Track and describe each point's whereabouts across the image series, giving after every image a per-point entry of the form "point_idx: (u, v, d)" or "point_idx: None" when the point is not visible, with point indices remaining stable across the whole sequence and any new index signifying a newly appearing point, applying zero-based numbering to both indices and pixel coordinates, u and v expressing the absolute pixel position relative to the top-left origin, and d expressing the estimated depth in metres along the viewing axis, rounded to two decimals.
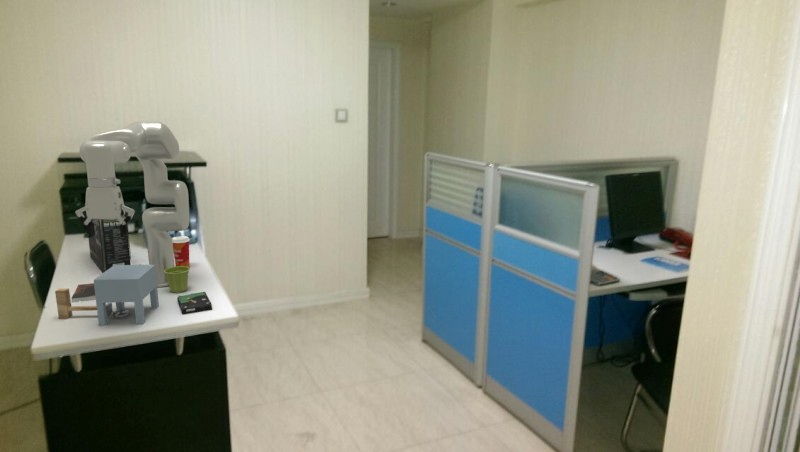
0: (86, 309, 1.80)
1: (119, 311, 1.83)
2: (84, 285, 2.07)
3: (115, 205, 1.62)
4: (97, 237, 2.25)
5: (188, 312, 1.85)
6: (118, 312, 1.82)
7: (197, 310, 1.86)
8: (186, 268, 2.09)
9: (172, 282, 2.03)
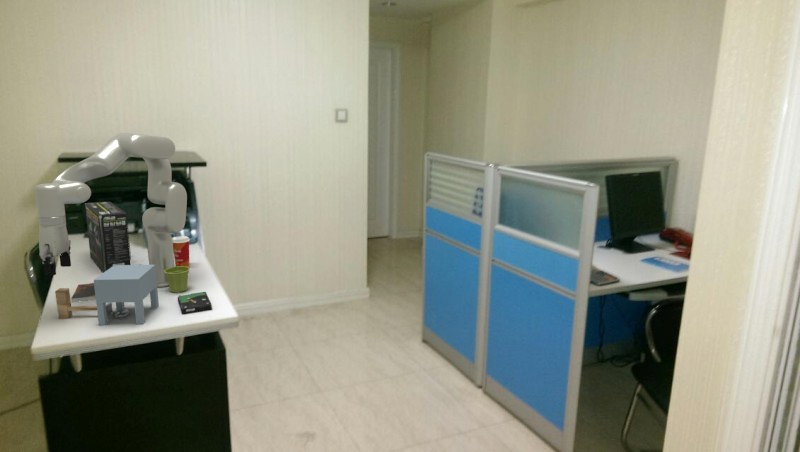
0: (86, 309, 1.80)
1: (119, 311, 1.83)
2: (84, 285, 2.07)
3: None
4: (97, 237, 2.25)
5: (188, 312, 1.85)
6: (118, 312, 1.82)
7: (197, 310, 1.86)
8: (186, 268, 2.09)
9: (172, 282, 2.03)
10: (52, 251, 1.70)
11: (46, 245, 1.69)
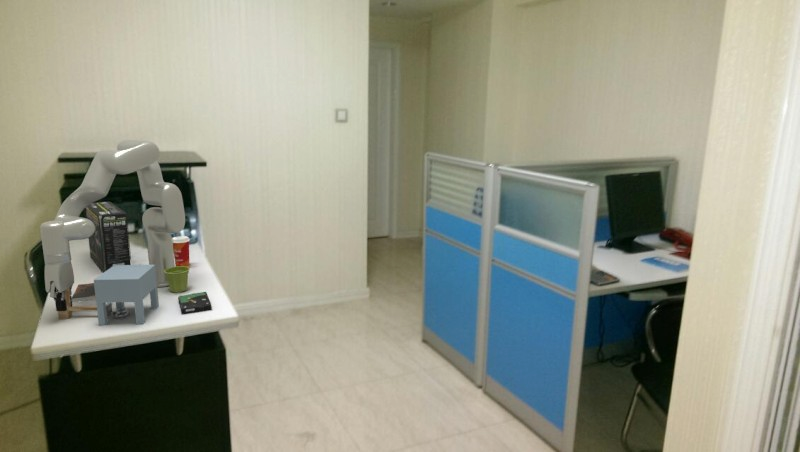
0: (86, 309, 1.80)
1: (118, 311, 1.82)
2: (84, 285, 2.07)
3: None
4: (97, 237, 2.25)
5: (187, 312, 1.85)
6: (118, 312, 1.82)
7: (196, 310, 1.86)
8: (186, 268, 2.09)
9: (172, 282, 2.03)
10: (58, 288, 1.73)
11: (53, 284, 1.73)
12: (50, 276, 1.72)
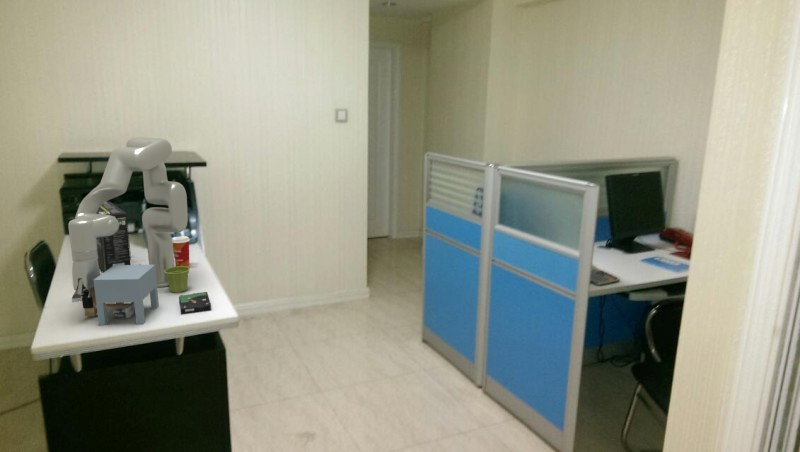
0: (112, 306, 1.80)
1: (116, 312, 1.81)
2: None
3: (99, 270, 1.82)
4: (97, 237, 2.25)
5: (187, 312, 1.85)
6: (120, 312, 1.81)
7: (196, 310, 1.86)
8: (186, 268, 2.09)
9: (172, 282, 2.03)
10: (85, 285, 1.73)
11: (80, 281, 1.73)
12: (78, 273, 1.72)
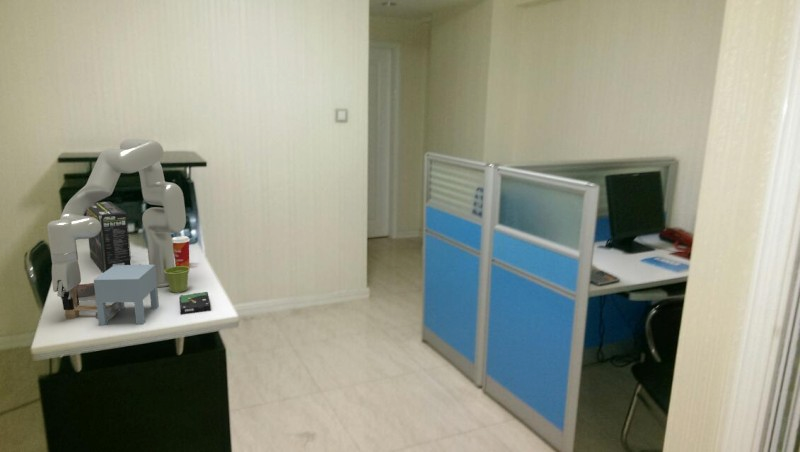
0: (93, 308, 1.80)
1: None
2: (84, 285, 2.07)
3: (79, 271, 1.81)
4: (97, 237, 2.25)
5: (186, 312, 1.85)
6: None
7: (196, 310, 1.86)
8: (186, 268, 2.09)
9: (172, 282, 2.03)
10: (65, 287, 1.73)
11: (60, 283, 1.73)
12: (57, 275, 1.72)
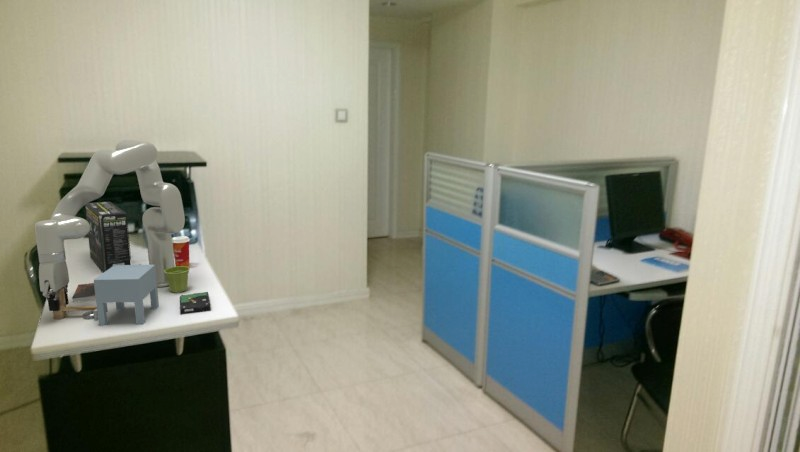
0: (81, 309, 1.79)
1: (87, 314, 1.80)
2: (84, 285, 2.07)
3: (67, 271, 1.81)
4: (97, 237, 2.25)
5: (186, 312, 1.85)
6: (90, 314, 1.80)
7: (195, 310, 1.86)
8: (186, 268, 2.09)
9: (172, 282, 2.03)
10: (52, 287, 1.73)
11: (47, 283, 1.72)
12: (44, 275, 1.71)
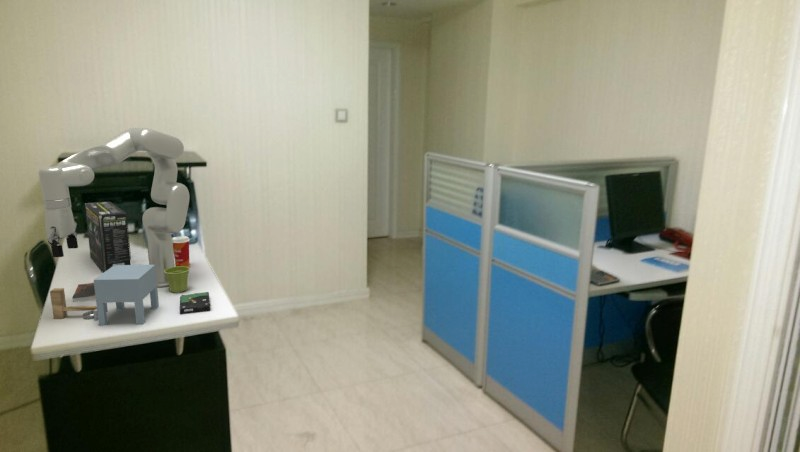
0: (81, 309, 1.79)
1: (87, 314, 1.80)
2: (84, 285, 2.07)
3: (73, 220, 1.80)
4: (97, 237, 2.25)
5: (186, 312, 1.85)
6: (90, 314, 1.80)
7: (195, 311, 1.86)
8: (186, 268, 2.09)
9: (172, 282, 2.03)
10: (59, 233, 1.72)
11: (52, 227, 1.71)
12: (50, 222, 1.71)
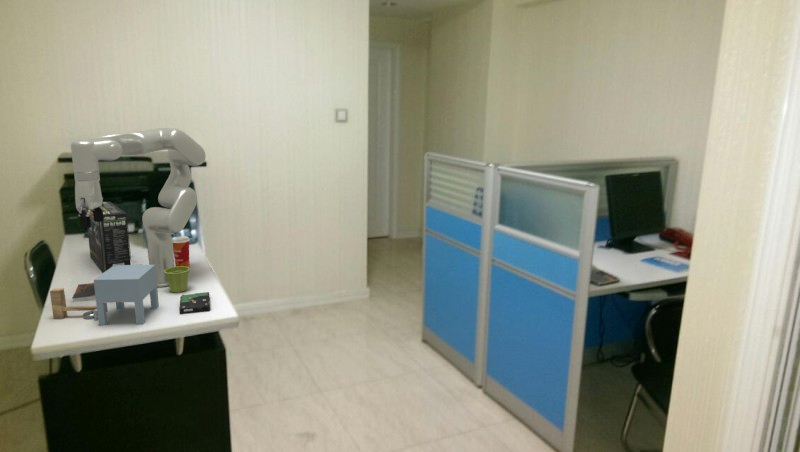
0: (81, 309, 1.79)
1: (87, 314, 1.80)
2: (84, 285, 2.07)
3: None
4: (97, 237, 2.25)
5: (185, 312, 1.85)
6: (90, 314, 1.80)
7: (195, 311, 1.86)
8: (186, 268, 2.09)
9: (172, 282, 2.03)
10: (88, 204, 1.78)
11: (82, 199, 1.78)
12: (80, 193, 1.77)
